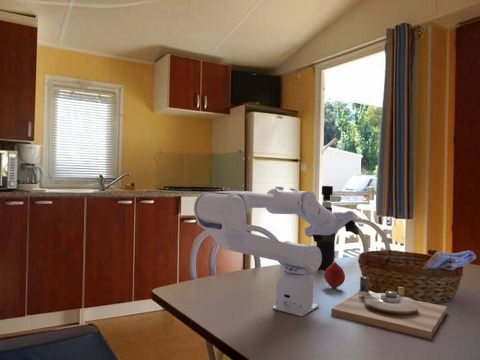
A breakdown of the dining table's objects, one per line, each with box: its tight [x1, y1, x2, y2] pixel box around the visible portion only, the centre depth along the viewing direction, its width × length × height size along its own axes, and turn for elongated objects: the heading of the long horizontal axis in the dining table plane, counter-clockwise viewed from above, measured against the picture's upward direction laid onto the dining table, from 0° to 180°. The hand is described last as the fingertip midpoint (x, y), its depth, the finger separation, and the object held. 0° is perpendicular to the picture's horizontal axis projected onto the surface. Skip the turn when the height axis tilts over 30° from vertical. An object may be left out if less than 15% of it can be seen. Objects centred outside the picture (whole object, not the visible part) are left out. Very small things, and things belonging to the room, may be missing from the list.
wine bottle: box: [315, 185, 336, 272], centre depth 139 cm, size 6×6×30 cm
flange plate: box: [358, 276, 419, 314], centre depth 93 cm, size 16×12×4 cm
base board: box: [331, 286, 448, 340], centre depth 91 cm, size 21×21×5 cm
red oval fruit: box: [323, 260, 346, 290], centre depth 112 cm, size 6×6×8 cm
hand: (344, 235), depth 107 cm, fingers open, 7 cm apart
